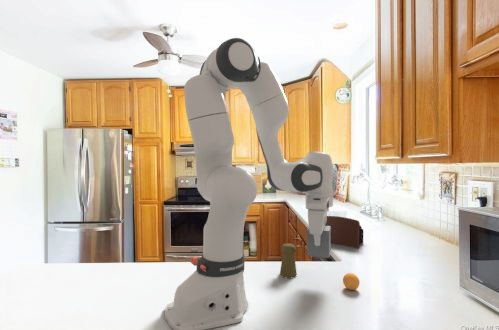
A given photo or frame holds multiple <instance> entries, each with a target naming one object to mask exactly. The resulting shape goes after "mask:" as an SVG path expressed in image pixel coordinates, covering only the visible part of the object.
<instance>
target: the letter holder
mask: <svg viewBox="0 0 499 330" xmlns="http://www.w3.org/2000/svg"><path fill="white" fill-rule="evenodd" d="M325 226H331V244H334V245H338V246H344V247H350V248H356V249H359V248H361V247H362V245H363V244H364V229H363V228H362V226H361V225H360V221H359V220H356V219H353V218H351V217H344V216H337V215H327V222H326V225H325Z"/></svg>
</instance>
